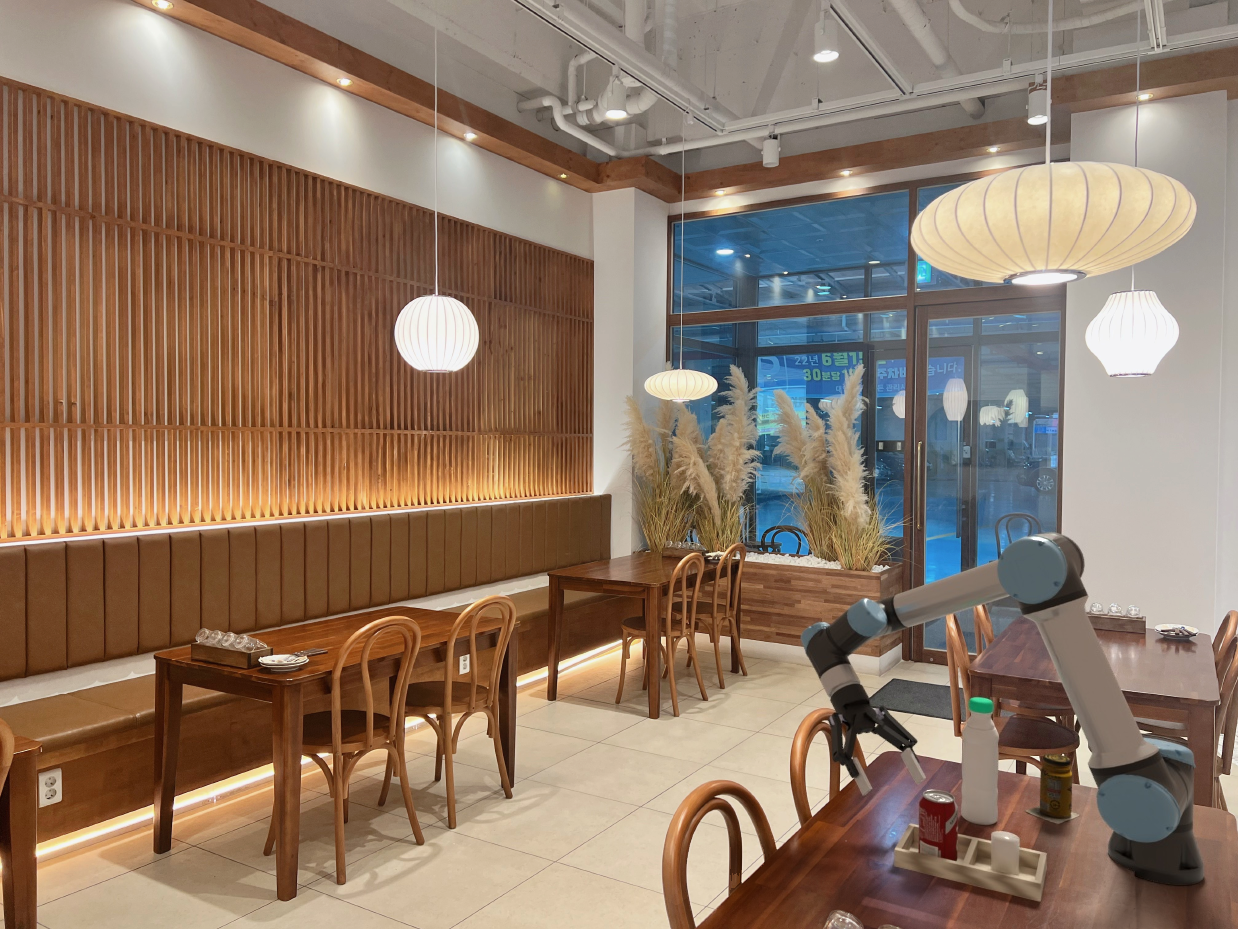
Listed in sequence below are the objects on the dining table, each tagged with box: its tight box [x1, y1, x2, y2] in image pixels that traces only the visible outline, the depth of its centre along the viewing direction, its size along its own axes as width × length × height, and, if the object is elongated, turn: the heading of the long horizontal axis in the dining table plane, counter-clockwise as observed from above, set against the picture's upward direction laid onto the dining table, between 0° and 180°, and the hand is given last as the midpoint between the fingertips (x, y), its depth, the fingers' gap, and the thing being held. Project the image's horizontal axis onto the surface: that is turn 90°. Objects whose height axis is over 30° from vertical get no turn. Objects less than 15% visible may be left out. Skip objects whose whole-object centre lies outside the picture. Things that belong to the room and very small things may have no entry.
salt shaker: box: [990, 830, 1021, 876], centre depth 155 cm, size 5×5×7 cm
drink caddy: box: [893, 823, 1048, 903], centre depth 157 cm, size 24×13×4 cm, turn 60°
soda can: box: [918, 789, 959, 862], centre depth 160 cm, size 7×7×12 cm
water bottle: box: [960, 696, 1000, 826], centre depth 181 cm, size 7×7×25 cm
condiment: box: [1025, 753, 1081, 825], centre depth 184 cm, size 7×8×12 cm
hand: (895, 787), depth 170 cm, fingers open, 13 cm apart
